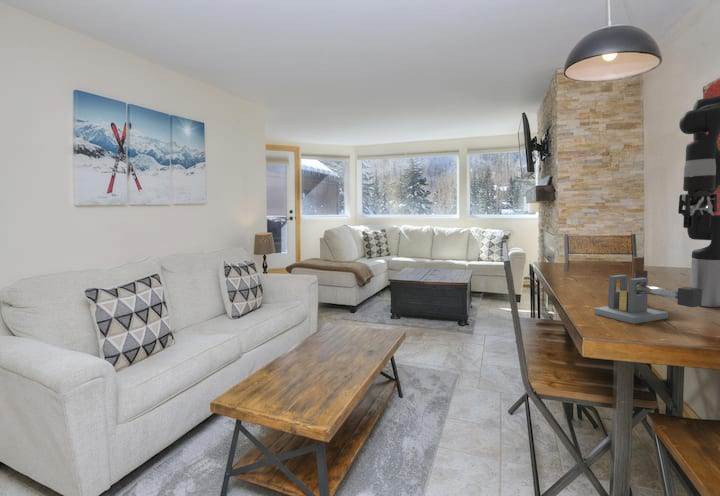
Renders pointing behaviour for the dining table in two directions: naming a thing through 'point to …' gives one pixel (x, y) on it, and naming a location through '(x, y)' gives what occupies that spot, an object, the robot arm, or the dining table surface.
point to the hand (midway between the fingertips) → (696, 227)
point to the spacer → (624, 300)
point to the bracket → (629, 302)
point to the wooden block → (638, 268)
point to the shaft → (675, 294)
